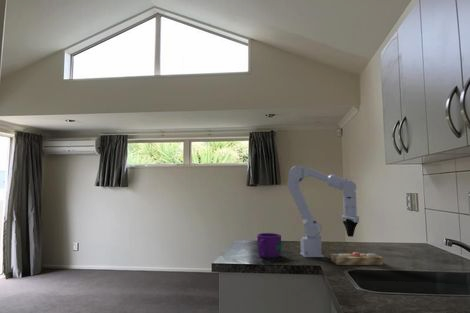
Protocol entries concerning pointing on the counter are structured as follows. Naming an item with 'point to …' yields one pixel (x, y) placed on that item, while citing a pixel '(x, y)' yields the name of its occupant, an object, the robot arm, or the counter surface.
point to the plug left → (342, 255)
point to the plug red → (356, 254)
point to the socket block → (357, 259)
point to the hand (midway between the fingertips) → (350, 236)
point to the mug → (269, 245)
